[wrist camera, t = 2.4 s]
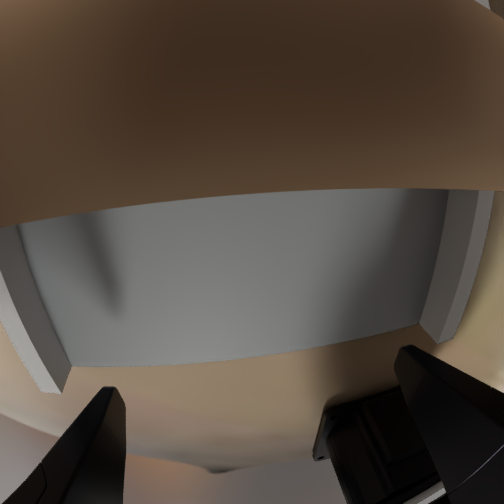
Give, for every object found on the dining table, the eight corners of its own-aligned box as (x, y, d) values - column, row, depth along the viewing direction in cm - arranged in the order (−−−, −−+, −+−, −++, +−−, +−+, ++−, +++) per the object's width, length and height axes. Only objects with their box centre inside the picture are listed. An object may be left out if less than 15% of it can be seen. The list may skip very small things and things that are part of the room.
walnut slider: (448, 160, 8) (539, 194, 5) (14, 191, 7) (-73, 245, 3) (448, 51, 7) (539, 47, 3) (4, 66, 5) (-88, 60, 1)
